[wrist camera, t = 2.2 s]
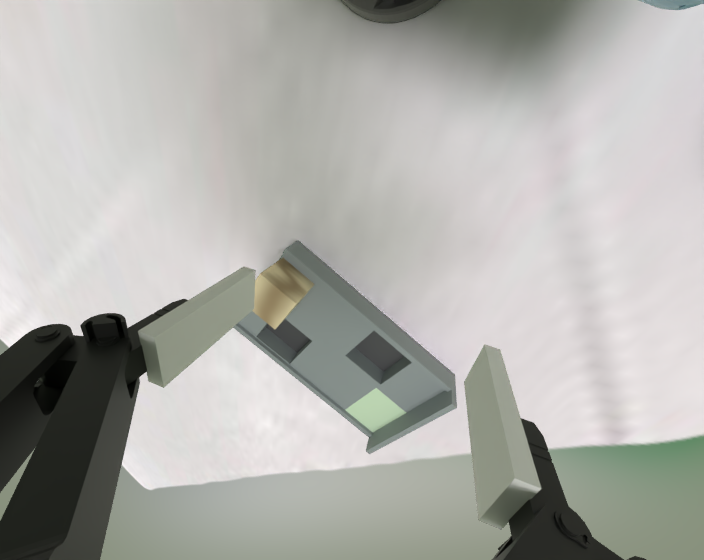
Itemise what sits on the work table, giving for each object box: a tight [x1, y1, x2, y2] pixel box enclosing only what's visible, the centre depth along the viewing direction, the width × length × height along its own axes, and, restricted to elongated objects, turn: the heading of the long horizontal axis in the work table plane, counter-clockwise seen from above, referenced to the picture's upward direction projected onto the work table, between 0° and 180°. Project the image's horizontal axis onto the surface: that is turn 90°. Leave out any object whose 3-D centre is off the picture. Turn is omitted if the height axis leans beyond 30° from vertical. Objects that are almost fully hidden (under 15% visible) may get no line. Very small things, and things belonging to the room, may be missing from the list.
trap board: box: [233, 241, 457, 454], centre depth 42 cm, size 30×18×6 cm, turn 51°
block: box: [252, 258, 314, 329], centre depth 37 cm, size 6×6×6 cm
